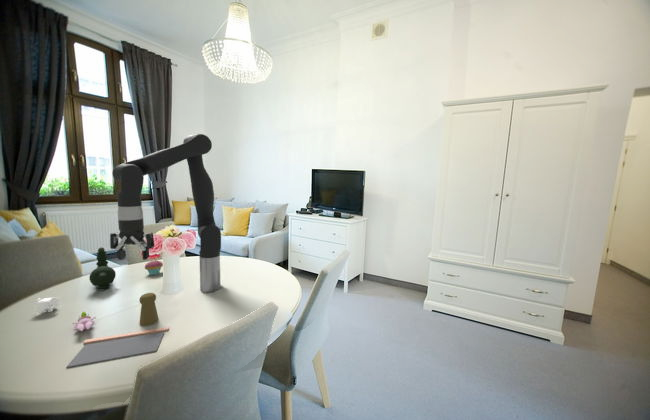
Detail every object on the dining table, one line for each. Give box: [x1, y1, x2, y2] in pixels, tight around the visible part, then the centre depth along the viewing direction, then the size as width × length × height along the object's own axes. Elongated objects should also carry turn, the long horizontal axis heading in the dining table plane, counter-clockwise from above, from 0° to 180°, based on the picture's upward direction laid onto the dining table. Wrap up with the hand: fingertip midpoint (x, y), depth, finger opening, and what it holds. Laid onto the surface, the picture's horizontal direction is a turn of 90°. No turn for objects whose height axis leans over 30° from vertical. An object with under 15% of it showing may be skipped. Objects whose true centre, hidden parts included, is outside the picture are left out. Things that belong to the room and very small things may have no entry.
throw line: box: [82, 326, 170, 345], centre depth 86 cm, size 24×2×1 cm, turn 111°
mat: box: [66, 331, 165, 369], centre depth 80 cm, size 22×10×1 cm, turn 111°
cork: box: [138, 292, 159, 327], centre depth 94 cm, size 6×6×11 cm
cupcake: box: [144, 256, 164, 276], centre depth 140 cm, size 9×8×12 cm
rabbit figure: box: [72, 311, 96, 332], centre depth 89 cm, size 6×6×15 cm
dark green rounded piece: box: [88, 247, 116, 291], centre depth 123 cm, size 9×19×25 cm
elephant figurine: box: [34, 296, 60, 314], centre depth 99 cm, size 7×8×6 cm
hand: (133, 259), depth 95 cm, fingers open, 8 cm apart
